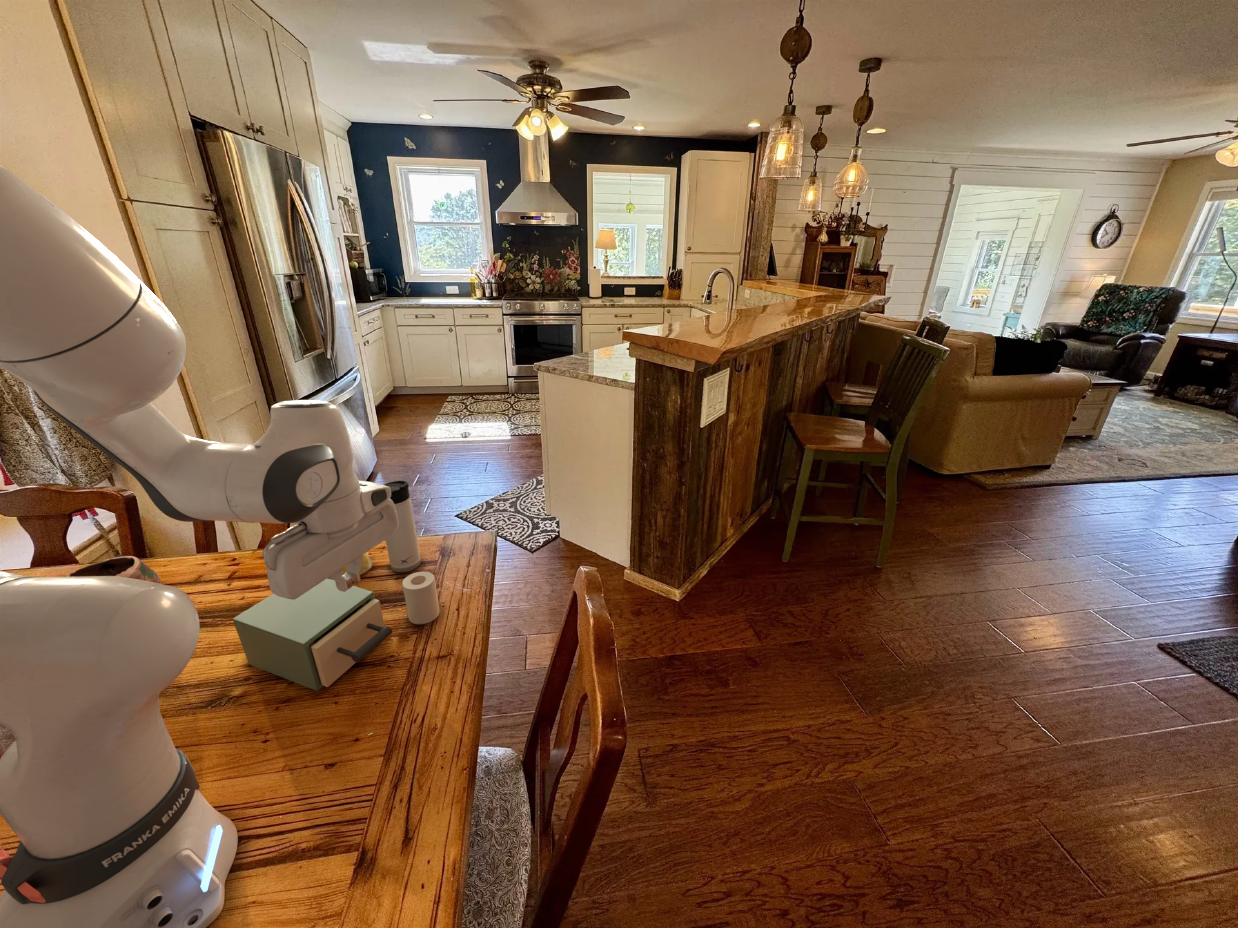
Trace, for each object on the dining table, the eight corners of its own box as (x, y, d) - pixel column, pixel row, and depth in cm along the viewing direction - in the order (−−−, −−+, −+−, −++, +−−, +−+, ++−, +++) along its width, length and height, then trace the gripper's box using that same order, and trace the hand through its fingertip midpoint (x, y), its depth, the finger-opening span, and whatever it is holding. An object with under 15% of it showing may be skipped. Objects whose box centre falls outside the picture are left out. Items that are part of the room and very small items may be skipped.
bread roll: (324, 567, 108) (320, 552, 107) (368, 555, 113) (365, 540, 112) (328, 587, 102) (324, 571, 101) (375, 573, 107) (371, 557, 105)
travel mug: (412, 574, 107) (397, 492, 99) (384, 570, 108) (368, 488, 100) (427, 558, 112) (415, 479, 104) (402, 555, 113) (387, 476, 106)
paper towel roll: (426, 627, 92) (420, 591, 88) (402, 620, 93) (395, 584, 90) (445, 608, 96) (440, 574, 93) (422, 602, 98) (416, 568, 95)
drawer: (408, 642, 87) (401, 606, 84) (350, 696, 76) (340, 657, 73) (326, 615, 93) (317, 581, 90) (262, 662, 82) (249, 625, 79)
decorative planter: (78, 623, 91) (46, 560, 86) (164, 593, 100) (139, 533, 94) (90, 680, 79) (53, 610, 74) (187, 639, 88) (160, 575, 82)
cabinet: (382, 634, 90) (373, 591, 86) (317, 691, 78) (303, 644, 74) (319, 613, 95) (307, 572, 91) (248, 664, 83) (232, 618, 79)
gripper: (277, 549, 61) (304, 635, 67) (398, 483, 79) (411, 555, 84) (242, 539, 63) (271, 623, 69) (367, 477, 81) (382, 548, 86)
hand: (349, 585), depth 77 cm, fingers closed
